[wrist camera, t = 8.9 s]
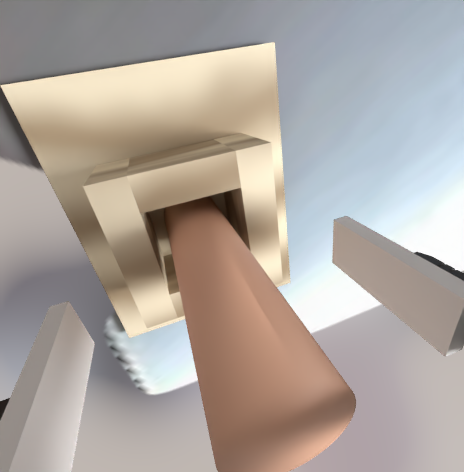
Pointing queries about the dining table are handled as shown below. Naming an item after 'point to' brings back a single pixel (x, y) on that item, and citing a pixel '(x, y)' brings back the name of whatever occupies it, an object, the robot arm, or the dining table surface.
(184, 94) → the socket block
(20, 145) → the dining table surface
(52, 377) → the robot arm
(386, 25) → the dining table surface
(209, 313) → the dowel
